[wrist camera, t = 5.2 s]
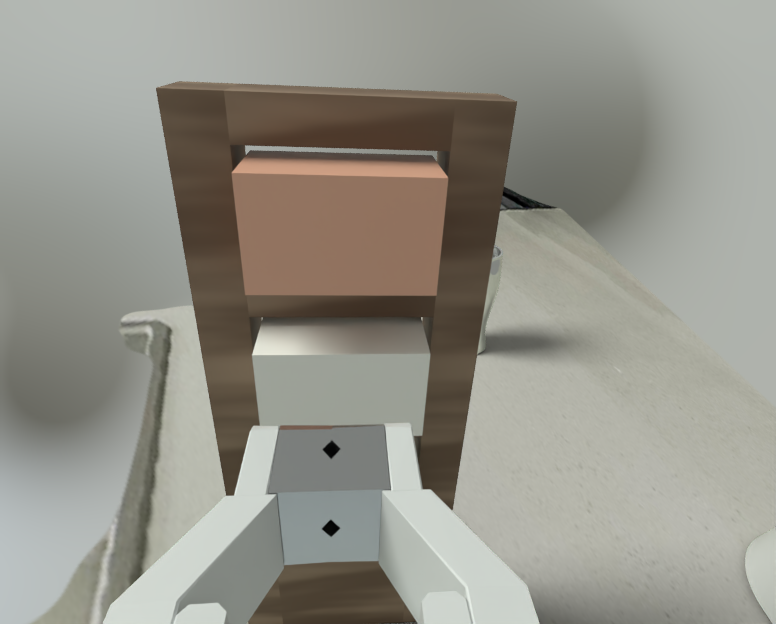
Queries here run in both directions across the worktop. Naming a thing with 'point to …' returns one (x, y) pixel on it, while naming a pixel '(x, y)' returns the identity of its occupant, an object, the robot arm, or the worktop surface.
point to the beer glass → (491, 293)
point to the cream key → (341, 371)
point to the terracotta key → (339, 223)
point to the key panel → (243, 312)
